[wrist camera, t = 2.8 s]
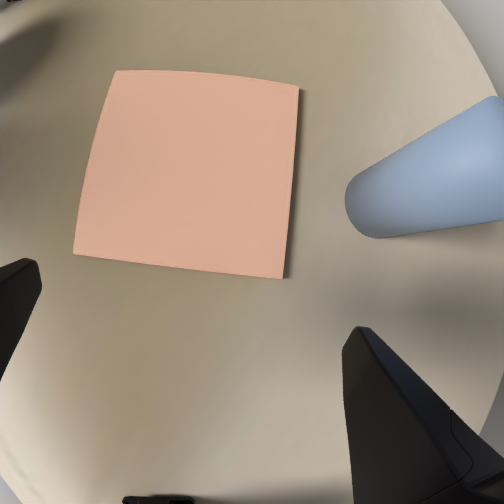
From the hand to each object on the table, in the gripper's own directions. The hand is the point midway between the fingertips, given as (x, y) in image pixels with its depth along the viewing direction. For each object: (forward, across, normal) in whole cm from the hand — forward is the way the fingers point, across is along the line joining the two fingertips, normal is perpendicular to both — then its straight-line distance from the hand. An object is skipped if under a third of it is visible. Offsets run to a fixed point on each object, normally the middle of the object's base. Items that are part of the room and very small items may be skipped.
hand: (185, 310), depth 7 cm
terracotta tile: (+14, +3, 0) cm, 14 cm away
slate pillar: (+14, -11, 0) cm, 18 cm away
